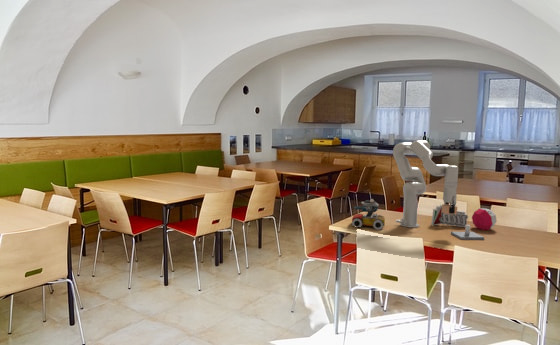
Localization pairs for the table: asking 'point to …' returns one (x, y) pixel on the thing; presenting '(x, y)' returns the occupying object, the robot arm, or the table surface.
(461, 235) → the post stand
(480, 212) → the decorative object
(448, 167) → the robot arm
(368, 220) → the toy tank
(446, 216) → the decorative sign
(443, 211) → the collar
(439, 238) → the table surface
